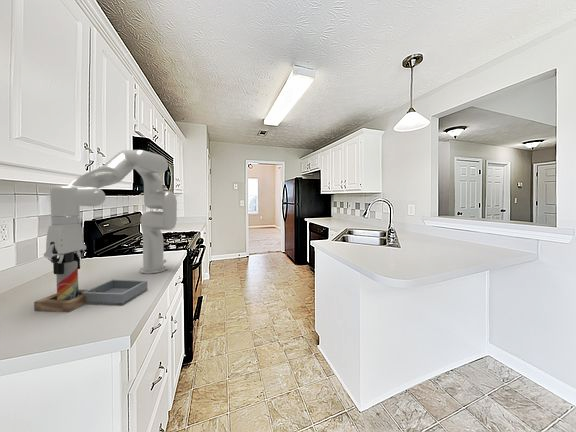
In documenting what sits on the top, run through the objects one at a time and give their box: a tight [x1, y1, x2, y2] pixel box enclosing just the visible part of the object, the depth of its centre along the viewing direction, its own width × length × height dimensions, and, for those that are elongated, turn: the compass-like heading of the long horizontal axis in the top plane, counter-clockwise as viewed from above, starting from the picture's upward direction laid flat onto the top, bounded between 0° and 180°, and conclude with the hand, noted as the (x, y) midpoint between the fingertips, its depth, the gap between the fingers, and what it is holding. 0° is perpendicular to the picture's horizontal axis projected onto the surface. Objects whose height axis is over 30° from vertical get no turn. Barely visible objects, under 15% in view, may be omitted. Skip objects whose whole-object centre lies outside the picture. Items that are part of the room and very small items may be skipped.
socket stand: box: [33, 288, 98, 313], centre depth 88 cm, size 12×12×3 cm
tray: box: [81, 279, 148, 306], centre depth 96 cm, size 15×15×4 cm
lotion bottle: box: [55, 252, 79, 300], centre depth 88 cm, size 6×6×20 cm
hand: (67, 270), depth 87 cm, fingers closed on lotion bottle, 5 cm apart
